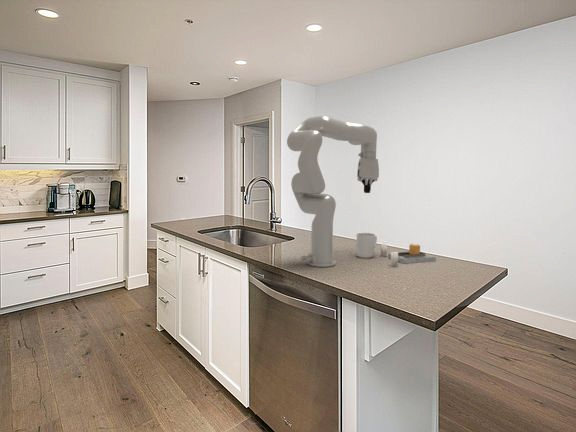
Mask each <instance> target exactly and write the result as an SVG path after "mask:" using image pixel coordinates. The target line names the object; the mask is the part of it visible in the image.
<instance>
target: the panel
mask: <svg viewBox="0 0 576 432" xmlns="http://www.w3.org/2000/svg"><path fill="white" fill-rule="evenodd" d="M387 258H388V259H390V260H391V253H387ZM436 261H437V257H436V256H434V255H430V254H428V253H426V252H424V251H423V252H422V251H420V254H414V255H412V254H409V251H403V252H402V251H401V252H398V263H400V264H403V265H404V264H416V263H428V262H429V263H430V262H436Z"/></svg>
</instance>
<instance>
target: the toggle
mask: <svg viewBox="0 0 576 432" xmlns="http://www.w3.org/2000/svg"><path fill="white" fill-rule="evenodd" d="M408 247H409V248H408V249H409V251H408V252H409V254H412V255H414V254H420V252H421V245H420V244H419V243H415V242H413V243H410V244H409V246H408Z"/></svg>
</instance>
